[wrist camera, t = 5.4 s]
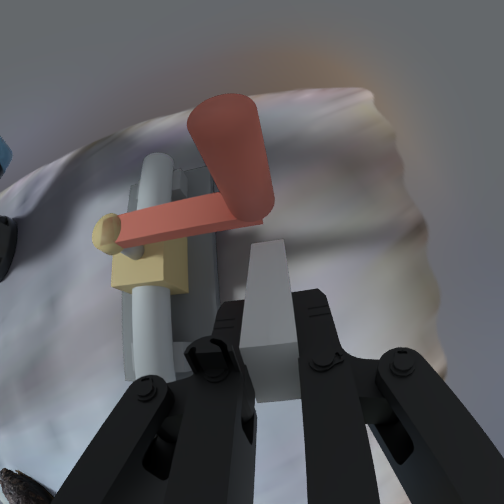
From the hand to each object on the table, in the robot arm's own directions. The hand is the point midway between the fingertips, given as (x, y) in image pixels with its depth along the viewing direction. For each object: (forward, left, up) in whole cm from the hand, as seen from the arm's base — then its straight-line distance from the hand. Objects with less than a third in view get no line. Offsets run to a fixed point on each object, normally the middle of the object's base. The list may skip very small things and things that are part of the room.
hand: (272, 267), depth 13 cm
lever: (-7, +6, -5) cm, 10 cm away
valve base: (-13, +6, -16) cm, 21 cm away
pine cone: (-52, -38, -16) cm, 67 cm away
